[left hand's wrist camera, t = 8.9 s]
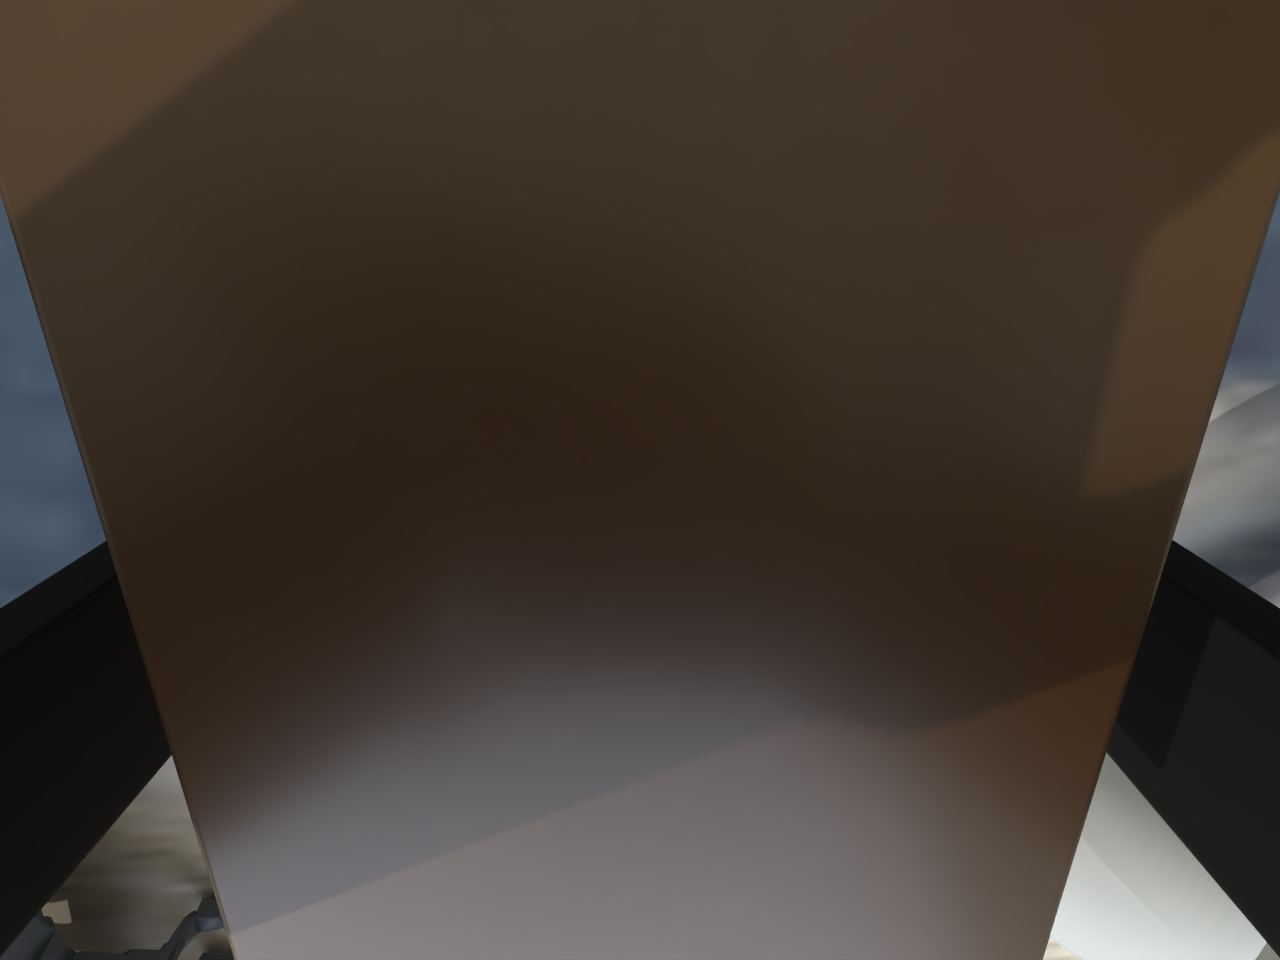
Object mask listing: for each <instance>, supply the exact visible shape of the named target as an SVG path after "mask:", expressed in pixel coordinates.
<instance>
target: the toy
mask: <svg viewBox="0 0 1280 960" xmlns="http://www.w3.org/2000/svg"><path fill="white" fill-rule="evenodd" d="M221 928H224V924H223V920H222V917H221V914H220V911H219V907H218V904H217V901H216V899H214V898H204V897H203V899H202V901H201V903H200V906H199V908H198V910H197V911H193V912H191V913H190V914H189V915H188V916H186V917H185V918H184V919H183V921H182V922H181V923H180V925H179V926H178V928H177V929H176V931H175V932H174V934H173V935H172V937H171V938H170V940H169V941H168V942H167V943H165V944H164V945H163V947H162V948H161V949H160V950H141V949H131V950H129V951H127V952H125V953H123V954H111V953H99V952H86V951H80V952H77V953H76V952H75V951H74V950H73V949H69V948H68V947H67V946H66V945H65V944H64V942H63V941H62V939H61V938H60V937H59V935H58V934H57V932H56V931H55V924H54V922H53V920H52V918H51V917H47V916H43V913H42V910H40V911H39V912H38V913H37V915H36V916H35V917H34V918H33V919H32V920H31V922H30V923H29V924H28V925H27V926H26V928H25V929H24V930H23V931H22V932H21V933H20V935H19V936H18V937H17V938H16V939H15V941H14V942H13V943H12V944H11V945H10V947H9V948H8V949H7V950H6V951H5V952H4V954H3V955H2V956H1V957H0V960H177V959H178V957H179V955H180V953H181V951H182V950H183V949H184V948H185V947H186V946H187V945H188V944H189V943H190V942H191V941H192V940H193V939H194V938H195V937H196V936H197V935H198V934H199V933H200V932H203V931H210V930H217V929H221ZM199 960H234V956H233V955H222V954H212V953H203V954H202V955H201V957H200V959H199Z"/></svg>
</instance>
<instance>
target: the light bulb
mask: <svg viewBox="0 0 1280 960" xmlns="http://www.w3.org/2000/svg"><path fill="white" fill-rule="evenodd" d="M1050 937H1051V938H1052V939H1053V940H1054V941H1055V942H1057V943H1058V944H1059V945H1060V946H1062V947H1063V948H1064V949H1065V950H1067V951H1068V952H1070V953H1072V954H1073V955H1075V956H1077V957H1078V958H1080V959H1082V960H1255V959H1256V957H1257V956H1258V955H1259V953H1260V952H1261V950H1262V949H1263V947H1264V946H1265V944H1266V943H1267V942H1266V941H1265V939H1264V938H1263V937H1262V936H1261V935H1260V934H1259V932H1258V931H1257V930H1256V929H1255V928H1254V926H1253V925H1252V924H1251V923H1250V922H1249V921H1248V919H1247V918H1246V917H1245V916H1244V915H1243V913H1242V912H1241V911H1240V910H1239V909H1238V907H1237V906H1236V905H1235V904H1234V903H1233V902H1232V900H1231V899H1230V898H1229V897H1228V896H1227V894H1226V893H1225V892H1224V891H1223V890H1222V889H1221V887H1220V886H1219V885H1218V884H1217V883H1216V881H1215V880H1214V879H1213V878H1212V877H1211V876H1210V874H1209V873H1208V872H1207V871H1206V870H1205V868H1204V867H1203V866H1202V865H1201V864H1200V863H1199V861H1198V860H1197V859H1196V858H1195V857H1194V855H1193V854H1192V853H1191V852H1190V851H1189V850H1188V848H1187V847H1186V846H1185V845H1184V844H1183V842H1182V841H1181V840H1180V839H1179V838H1178V837H1177V835H1176V834H1175V833H1174V832H1173V831H1172V829H1171V828H1170V827H1169V826H1168V825H1167V824H1166V822H1165V821H1164V820H1163V819H1162V818H1161V816H1160V815H1159V814H1158V813H1157V812H1156V811H1155V809H1154V808H1153V807H1152V806H1151V805H1150V803H1149V802H1148V801H1147V800H1146V799H1145V798H1144V796H1143V795H1142V794H1141V793H1140V792H1139V790H1138V789H1137V788H1136V787H1135V786H1134V784H1133V783H1132V782H1131V781H1130V780H1129V779H1128V777H1127V776H1126V775H1125V774H1124V773H1123V771H1122V770H1121V769H1120V768H1119V767H1118V766H1117V764H1116V763H1115V762H1114V761H1113V760H1112V758H1111V757H1110V756H1109V755H1108V754H1107V753H1106V756H1105V759H1104V762H1103V765H1102V768H1101V772H1100V775H1099V778H1098V781H1097V785H1096V788H1095V791H1094V794H1093V798H1092V801H1091V804H1090V807H1089V811H1088V814H1087V817H1086V820H1085V824H1084V827H1083V830H1082V833H1081V836H1080V840H1079V843H1078V846H1077V849H1076V853H1075V856H1074V859H1073V862H1072V866H1071V869H1070V872H1069V875H1068V879H1067V882H1066V885H1065V888H1064V892H1063V895H1062V898H1061V901H1060V904H1059V908H1058V911H1057V914H1056V917H1055V921H1054V924H1053V927H1052V930H1051V934H1050Z"/></svg>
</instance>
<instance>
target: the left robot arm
mask: <svg viewBox="0 0 1280 960" xmlns="http://www.w3.org/2000/svg"><path fill="white" fill-rule="evenodd" d="M1106 753H1107V754H1108V755H1109V756H1110V757H1111V758H1112V760H1113V761H1114V762H1115V763H1116V764H1117V766H1118V767H1119V768H1120V769H1121V770H1122V771H1123V773H1124V774H1125V775H1126V776H1127V777H1128V779H1129V780H1130V781H1131V782H1132V783H1133V784H1134V786H1135V787H1136V788H1137V789H1138V790H1139V792H1140V793H1141V794H1142V795H1143V796H1144V798H1145V799H1146V800H1147V801H1148V802H1149V803H1150V805H1151V806H1152V807H1153V808H1154V809H1155V811H1156V812H1157V813H1158V814H1159V815H1160V816H1161V818H1162V819H1163V820H1164V821H1165V822H1166V824H1167V825H1168V826H1169V827H1170V828H1171V829H1172V831H1173V832H1174V833H1175V834H1176V835H1177V837H1178V838H1179V839H1180V840H1181V841H1182V842H1183V844H1184V845H1185V846H1186V847H1187V848H1188V850H1189V851H1190V852H1191V853H1192V854H1193V855H1194V857H1195V858H1196V859H1197V860H1198V861H1199V863H1200V864H1201V865H1202V866H1203V867H1204V868H1205V870H1206V871H1207V872H1208V873H1209V874H1210V876H1211V877H1212V878H1213V879H1214V880H1215V881H1216V883H1217V884H1218V885H1219V886H1220V887H1221V889H1222V890H1223V891H1224V892H1225V893H1226V894H1227V896H1228V897H1229V898H1230V899H1231V900H1232V902H1233V903H1234V904H1235V905H1236V906H1237V907H1238V909H1239V910H1240V911H1241V912H1242V913H1243V915H1244V916H1245V917H1246V918H1247V919H1248V921H1249V922H1250V923H1251V924H1252V925H1253V926H1254V928H1255V929H1256V930H1257V931H1258V932H1259V934H1260V935H1261V936H1262V937H1263V938H1264V939H1265V941H1266V942H1267V943H1268V944H1269V945H1270V947H1271V948H1272V949H1273V950H1274V951H1275V952H1276V954H1277V955H1278V956H1279V957H1280V608H1278V607H1277V606H1275V605H1273V604H1272V603H1270V602H1269V601H1267V600H1266V599H1264V598H1262V597H1261V596H1259V595H1258V594H1256V593H1255V592H1253V591H1251V590H1250V589H1248V588H1247V587H1245V586H1244V585H1242V584H1240V583H1239V582H1237V581H1236V580H1234V579H1233V578H1231V577H1229V576H1228V575H1226V574H1225V573H1223V572H1222V571H1220V570H1219V569H1217V568H1215V567H1214V566H1212V565H1211V564H1209V563H1208V562H1206V561H1204V560H1203V559H1201V558H1200V557H1198V556H1197V555H1195V554H1193V553H1192V552H1190V551H1189V550H1187V549H1186V548H1184V547H1182V546H1181V545H1179V544H1178V543H1176V542H1175V541H1173V540H1172V542H1171V545H1170V548H1169V552H1168V555H1167V558H1166V561H1165V564H1164V568H1163V571H1162V574H1161V577H1160V581H1159V584H1158V587H1157V590H1156V594H1155V597H1154V600H1153V603H1152V607H1151V610H1150V613H1149V616H1148V620H1147V623H1146V626H1145V629H1144V632H1143V636H1142V639H1141V642H1140V645H1139V649H1138V652H1137V655H1136V658H1135V662H1134V665H1133V668H1132V671H1131V675H1130V678H1129V681H1128V684H1127V688H1126V691H1125V694H1124V697H1123V700H1122V704H1121V707H1120V710H1119V713H1118V717H1117V720H1116V723H1115V726H1114V730H1113V733H1112V736H1111V739H1110V743H1109V746H1108V749H1107V752H1106ZM171 755H172V753H171V750H170V747H169V743H168V740H167V737H166V734H165V730H164V727H163V724H162V721H161V717H160V714H159V711H158V707H157V704H156V701H155V698H154V694H153V691H152V688H151V685H150V681H149V678H148V675H147V671H146V668H145V665H144V662H143V658H142V655H141V652H140V649H139V645H138V642H137V639H136V635H135V632H134V629H133V626H132V622H131V619H130V616H129V612H128V609H127V606H126V603H125V599H124V596H123V593H122V590H121V586H120V583H119V580H118V576H117V573H116V570H115V567H114V563H113V560H112V557H111V554H110V550H109V547H108V544H107V541H105V542H104V543H102V544H101V545H99V546H98V547H96V548H94V549H93V550H91V551H90V552H88V553H87V554H85V555H83V556H82V557H80V558H79V559H77V560H76V561H74V562H72V563H71V564H69V565H68V566H66V567H65V568H63V569H61V570H60V571H58V572H57V573H55V574H54V575H52V576H50V577H49V578H47V579H46V580H44V581H43V582H41V583H40V584H38V585H36V586H35V587H33V588H32V589H30V590H29V591H27V592H25V593H24V594H22V595H21V596H19V597H18V598H16V599H14V600H13V601H11V602H10V603H8V604H7V605H5V606H3V607H2V608H0V957H1V956H2V955H3V954H4V952H5V951H6V950H7V949H8V948H9V947H10V945H11V944H12V943H13V942H14V941H15V939H16V938H17V937H18V936H19V935H20V933H21V932H22V931H23V930H24V929H25V928H26V926H27V925H28V924H29V923H30V922H31V920H32V919H33V918H34V917H35V916H36V915H37V913H38V912H39V911H40V910H41V909H42V907H43V906H44V905H45V904H46V903H47V902H48V900H49V899H50V898H51V897H52V896H53V894H54V893H55V892H56V891H57V890H58V889H59V887H60V886H61V885H62V884H63V883H64V881H65V880H66V879H67V878H68V877H69V876H70V874H71V873H72V872H73V871H74V870H75V868H76V867H77V866H78V865H79V864H80V863H81V861H82V860H83V859H84V858H85V857H86V855H87V854H88V853H89V852H90V851H91V850H92V848H93V847H94V846H95V845H96V844H97V842H98V841H99V840H100V839H101V838H102V837H103V835H104V834H105V833H106V832H107V831H108V829H109V828H110V827H111V826H112V825H113V824H114V822H115V821H116V820H117V819H118V818H119V816H120V815H121V814H122V813H123V812H124V810H125V809H126V808H127V807H128V806H129V805H130V803H131V802H132V801H133V800H134V799H135V797H136V796H137V795H138V794H139V793H140V792H141V790H142V789H143V788H144V787H145V786H146V784H147V783H148V782H149V781H150V780H151V779H152V777H153V776H154V775H155V774H156V773H157V771H158V770H159V769H160V768H161V767H162V766H163V764H164V763H165V762H166V761H167V760H168V758H169V757H170V756H171Z"/></svg>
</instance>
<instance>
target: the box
mask: <svg viewBox="0 0 1280 960" xmlns="http://www.w3.org/2000/svg"><path fill="white" fill-rule="evenodd" d="M1279 192H1280V0H0V193H1V197H2V200H3V203H4V206H5V210H6V213H7V216H8V220H9V223H10V226H11V229H12V233H13V236H14V239H15V242H16V246H17V249H18V252H19V256H20V259H21V262H22V265H23V269H24V272H25V275H26V278H27V282H28V285H29V288H30V292H31V295H32V298H33V301H34V305H35V308H36V311H37V314H38V318H39V321H40V324H41V328H42V331H43V334H44V337H45V341H46V344H47V347H48V351H49V354H50V357H51V360H52V364H53V367H54V370H55V373H56V377H57V380H58V383H59V387H60V390H61V393H62V396H63V400H64V403H65V406H66V409H67V413H68V416H69V419H70V423H71V426H72V429H73V432H74V436H75V439H76V442H77V445H78V449H79V452H80V455H81V459H82V462H83V465H84V468H85V472H86V475H87V478H88V482H89V485H90V488H91V491H92V495H93V498H94V501H95V504H96V508H97V511H98V514H99V518H100V521H101V524H102V527H103V531H104V534H105V537H106V540H107V544H108V547H109V550H110V554H111V557H112V560H113V563H114V567H115V570H116V573H117V576H118V580H119V583H120V586H121V590H122V593H123V596H124V599H125V603H126V606H127V609H128V612H129V616H130V619H131V622H132V626H133V629H134V632H135V635H136V639H137V642H138V645H139V649H140V652H141V655H142V658H143V662H144V665H145V668H146V671H147V675H148V678H149V681H150V685H151V688H152V691H153V694H154V698H155V701H156V704H157V707H158V711H159V714H160V717H161V721H162V724H163V727H164V730H165V734H166V737H167V740H168V743H169V747H170V750H171V753H172V757H173V760H174V763H175V766H176V770H177V773H178V776H179V780H180V783H181V786H182V789H183V793H184V796H185V799H186V802H187V806H188V809H189V812H190V816H191V819H192V822H193V825H194V829H195V832H196V835H197V838H198V842H199V845H200V848H201V852H202V855H203V858H204V861H205V865H206V868H207V871H208V874H209V878H210V881H211V884H212V888H213V891H214V894H215V897H216V901H217V904H218V907H219V911H220V914H221V917H222V920H223V924H224V927H225V930H226V933H227V937H228V940H229V943H230V947H231V950H232V953H233V956H234V960H1043V956H1044V953H1045V950H1046V947H1047V943H1048V940H1049V937H1050V934H1051V930H1052V927H1053V924H1054V921H1055V917H1056V914H1057V911H1058V908H1059V904H1060V901H1061V898H1062V895H1063V892H1064V888H1065V885H1066V882H1067V879H1068V875H1069V872H1070V869H1071V866H1072V862H1073V859H1074V856H1075V853H1076V849H1077V846H1078V843H1079V840H1080V836H1081V833H1082V830H1083V827H1084V824H1085V820H1086V817H1087V814H1088V811H1089V807H1090V804H1091V801H1092V798H1093V794H1094V791H1095V788H1096V785H1097V781H1098V778H1099V775H1100V772H1101V768H1102V765H1103V762H1104V759H1105V756H1106V752H1107V749H1108V746H1109V743H1110V739H1111V736H1112V733H1113V730H1114V726H1115V723H1116V720H1117V717H1118V713H1119V710H1120V707H1121V704H1122V700H1123V697H1124V694H1125V691H1126V688H1127V684H1128V681H1129V678H1130V675H1131V671H1132V668H1133V665H1134V662H1135V658H1136V655H1137V652H1138V649H1139V645H1140V642H1141V639H1142V636H1143V632H1144V629H1145V626H1146V623H1147V620H1148V616H1149V613H1150V610H1151V607H1152V603H1153V600H1154V597H1155V594H1156V590H1157V587H1158V584H1159V581H1160V577H1161V574H1162V571H1163V568H1164V564H1165V561H1166V558H1167V555H1168V552H1169V548H1170V545H1171V542H1172V539H1173V535H1174V532H1175V529H1176V526H1177V522H1178V519H1179V516H1180V513H1181V509H1182V506H1183V503H1184V500H1185V496H1186V493H1187V490H1188V487H1189V484H1190V480H1191V477H1192V474H1193V471H1194V467H1195V464H1196V461H1197V458H1198V454H1199V451H1200V448H1201V445H1202V441H1203V438H1204V435H1205V432H1206V428H1207V425H1208V422H1209V419H1210V416H1211V412H1212V409H1213V406H1214V403H1215V399H1216V396H1217V393H1218V390H1219V386H1220V383H1221V380H1222V377H1223V373H1224V370H1225V367H1226V364H1227V360H1228V357H1229V354H1230V351H1231V348H1232V344H1233V341H1234V338H1235V335H1236V331H1237V328H1238V325H1239V322H1240V318H1241V315H1242V312H1243V309H1244V305H1245V302H1246V299H1247V296H1248V292H1249V289H1250V286H1251V283H1252V280H1253V276H1254V273H1255V270H1256V267H1257V263H1258V260H1259V257H1260V254H1261V250H1262V247H1263V244H1264V241H1265V237H1266V234H1267V231H1268V228H1269V224H1270V221H1271V218H1272V215H1273V212H1274V208H1275V205H1276V202H1277V199H1278V195H1279Z"/></svg>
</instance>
